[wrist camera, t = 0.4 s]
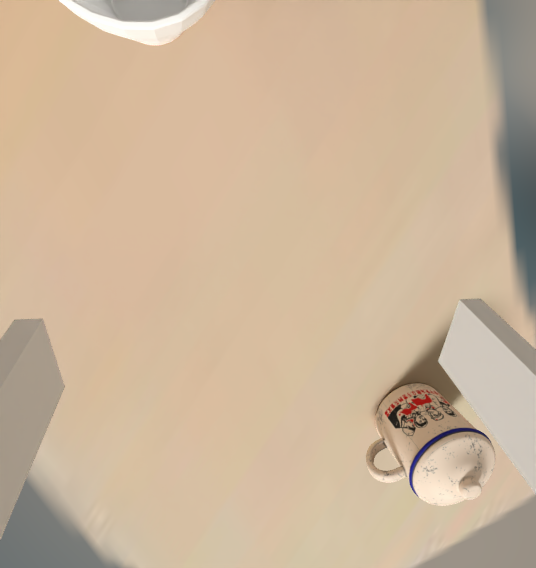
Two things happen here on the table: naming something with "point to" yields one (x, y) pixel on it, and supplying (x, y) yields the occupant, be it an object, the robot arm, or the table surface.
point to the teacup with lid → (431, 446)
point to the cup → (141, 17)
